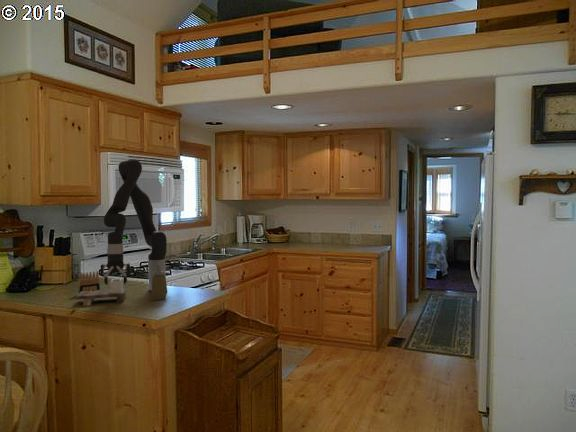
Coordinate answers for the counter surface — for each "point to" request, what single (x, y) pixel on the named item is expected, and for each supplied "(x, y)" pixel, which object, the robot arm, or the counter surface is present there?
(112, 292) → the stud finder
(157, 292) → the squeeze bottle
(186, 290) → the counter surface
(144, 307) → the counter surface
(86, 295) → the subfloor plank
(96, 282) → the ammunition clip
